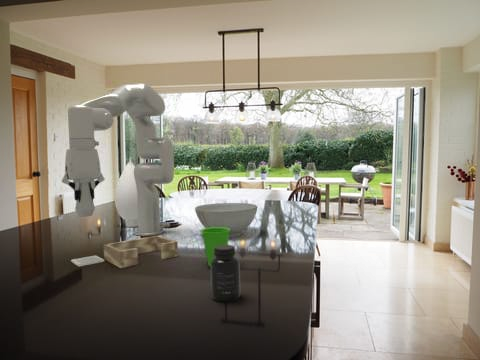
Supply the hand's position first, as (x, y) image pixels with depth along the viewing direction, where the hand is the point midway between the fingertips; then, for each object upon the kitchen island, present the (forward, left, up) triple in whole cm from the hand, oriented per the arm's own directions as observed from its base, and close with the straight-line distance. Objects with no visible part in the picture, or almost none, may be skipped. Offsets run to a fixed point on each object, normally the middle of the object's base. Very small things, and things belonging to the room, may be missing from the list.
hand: (84, 201), depth 121 cm
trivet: (0, 0, -20) cm, 20 cm away
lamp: (-39, -54, -20) cm, 70 cm away
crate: (-15, +8, -20) cm, 26 cm away
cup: (-28, +33, -20) cm, 48 cm away
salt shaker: (0, 0, -5) cm, 5 cm away
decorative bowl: (-59, -2, -20) cm, 62 cm away
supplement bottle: (-14, +56, -20) cm, 61 cm away
